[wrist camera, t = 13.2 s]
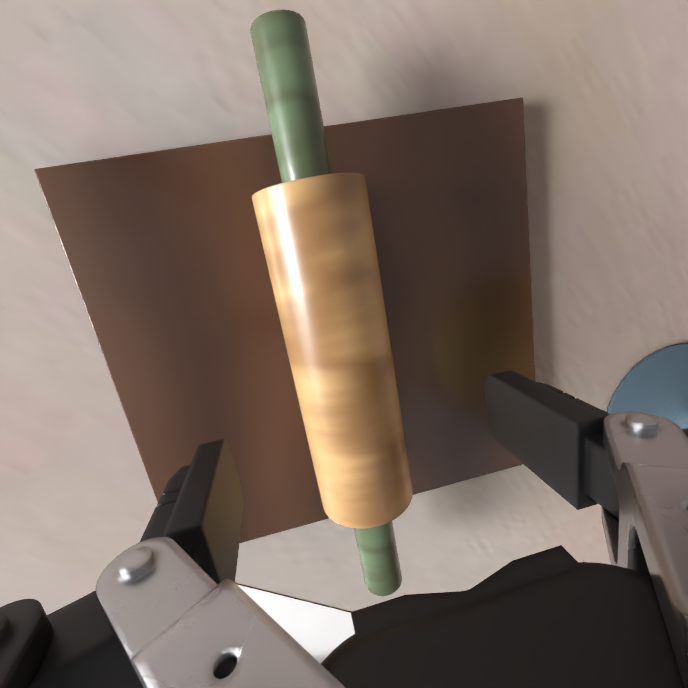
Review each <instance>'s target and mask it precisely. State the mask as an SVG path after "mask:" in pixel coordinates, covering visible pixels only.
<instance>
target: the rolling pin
mask: <svg viewBox="0 0 688 688" xmlns="http://www.w3.org/2000/svg"><path fill="white" fill-rule="evenodd" d="M251 37H252V42H253V46H254V51H255V56H256V61H257V66H258V70H259V75H260V80H261V85H262V90H263V94H264V99H265V104H266V109H267V114H268V118H269V123H270V128H271V133H272V138H273V142H274V147H275V152H276V157H277V162H278V166H279V171H280V176H281V181H282V183H280V184H276V185H273V186H270V187H267V188H264V189H262V190H260V191H258V192H256V193H255V194H253V195H252V201H253V205H254V210H255V214H256V218H257V223H258V227H259V231H260V236H261V240H262V244H263V249H264V253H265V257H266V262H267V266H268V270H269V275H270V279H271V283H272V288H273V292H274V296H275V301H276V305H277V309H278V314H279V318H280V322H281V327H282V331H283V335H284V340H285V344H286V348H287V353H288V357H289V361H290V366H291V370H292V374H293V379H294V383H295V387H296V392H297V396H298V400H299V405H300V409H301V413H302V418H303V422H304V426H305V431H306V435H307V439H308V444H309V448H310V452H311V457H312V461H313V465H314V470H315V474H316V478H317V483H318V487H319V491H320V496H321V500H322V504H323V508H324V511H325V513H326V514H327V515H328V517H329V518H330V519H331V520H333V521H334V522H336V523H337V524H340V525H342V526H345V527H349V528H354V531H355V536H356V541H357V546H358V551H359V555H360V560H361V565H362V570H363V575H364V579H365V584H366V587H367V588H368V590H369V591H370V592H371V593H373V594H375V595H378V596H387V595H390V594H392V593H394V592H395V591H396V590H397V589H398V588H399V587H400V584H401V581H402V576H401V570H400V564H399V558H398V553H397V547H396V541H395V535H394V530H393V524H392V520H394V519H396V518H397V517H398V516H400V515H401V514H402V513H403V512H404V511H405V510H406V509H407V507H408V506H409V504H410V502H411V499H412V495H413V489H412V482H411V476H410V469H409V463H408V456H407V449H406V443H405V436H404V430H403V423H402V417H401V410H400V403H399V397H398V390H397V384H396V377H395V370H394V364H393V357H392V351H391V344H390V337H389V331H388V324H387V318H386V311H385V304H384V298H383V291H382V285H381V278H380V271H379V265H378V258H377V252H376V245H375V238H374V232H373V225H372V219H371V212H370V205H369V199H368V192H367V186H366V179H365V176H364V175H363V174H359V173H335V174H332V173H331V167H330V161H329V155H328V150H327V144H326V138H325V132H324V126H323V121H322V115H321V109H320V103H319V98H318V92H317V86H316V80H315V75H314V69H313V63H312V57H311V52H310V46H309V40H308V34H307V29H306V23H305V20H304V19H303V17H302V16H301V15H300V14H298V13H296V12H294V11H290V10H275V11H270V12H267V13H265V14H263V15H261V16H259V17H258V18H257V19H256V20H255V21H254V22H253V23H252V26H251Z"/></svg>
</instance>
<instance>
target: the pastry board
mask: <svg viewBox="0 0 688 688" xmlns="http://www.w3.org/2000/svg"><path fill="white" fill-rule="evenodd" d="M324 132H325V138H326V144H327V150H328V155H329V161H330V167H331V173H332V174H335V173H359V174H363V175H364V176H365V179H366V186H367V192H368V199H369V205H370V212H371V219H372V225H373V232H374V238H375V245H376V252H377V258H378V265H379V271H380V278H381V285H382V291H383V298H384V304H385V311H386V318H387V324H388V331H389V337H390V344H391V351H392V357H393V364H394V370H395V377H396V384H397V390H398V397H399V403H400V410H401V417H402V423H403V430H404V436H405V443H406V449H407V456H408V463H409V469H410V476H411V482H412V489H413V495H414V494H417V493H421V492H425V491H428V490H432V489H435V488H439V487H443V486H446V485H450V484H453V483H457V482H460V481H464V480H468V479H471V478H475V477H478V476H482V475H486V474H489V473H493V472H496V471H500V470H504V469H507V468H511V467H514V466H518V465H522V464H523V463H522V462H520V461H519V460H518V459H517V458H516V457H515V456H513V455H512V454H511V453H510V452H509V451H507V450H506V449H505V448H504V447H503V446H502V445H500V444H499V443H498V442H497V441H496V440H495V439H494V438H493V436H492V435H491V433H490V431H489V428H488V425H487V417H486V404H485V390H484V380H485V377H486V376H488V375H491V374H495V373H500V372H504V371H508V370H512V371H514V372H516V373H518V374H521V375H523V376H525V377H527V378H529V379H531V380H533V381H535V365H534V342H533V319H532V296H531V273H530V250H529V227H528V204H527V181H526V158H525V135H524V112H523V98H516V99H509V100H503V101H496V102H489V103H482V104H475V105H468V106H462V107H455V108H448V109H441V110H434V111H428V112H421V113H414V114H407V115H400V116H394V117H387V118H380V119H373V120H366V121H360V122H353V123H346V124H339V125H332V126H326V127H324ZM35 173H36V176H37V179H38V181H39V184H40V187H41V189H42V192H43V195H44V197H45V200H46V203H47V205H48V208H49V211H50V214H51V216H52V219H53V222H54V224H55V227H56V230H57V232H58V235H59V238H60V240H61V243H62V246H63V249H64V251H65V254H66V257H67V259H68V262H69V265H70V267H71V270H72V273H73V275H74V278H75V281H76V283H77V286H78V289H79V292H80V294H81V297H82V300H83V302H84V305H85V308H86V310H87V313H88V316H89V318H90V321H91V324H92V327H93V329H94V332H95V335H96V337H97V340H98V343H99V345H100V348H101V351H102V353H103V356H104V359H105V362H106V364H107V367H108V370H109V372H110V375H111V378H112V380H113V383H114V386H115V388H116V391H117V394H118V396H119V399H120V402H121V405H122V407H123V410H124V413H125V415H126V418H127V421H128V423H129V426H130V429H131V431H132V434H133V437H134V440H135V442H136V445H137V448H138V450H139V453H140V456H141V458H142V461H143V464H144V466H145V469H146V472H147V474H148V477H149V480H150V483H151V485H152V488H153V491H154V493H155V496H156V499H157V501H158V502H159V500H160V497H161V496H163V494H162V493H163V491H164V489H165V487H166V485H167V482H168V480H169V479H170V478H171V477H172V476H173V475H174V474H175V473H176V472H177V471H178V470H179V469H180V468H181V467H183V466H187V465H191V462H192V460H193V457H194V455H195V452H196V450H197V447H198V445H200V444H205V443H209V442H213V441H217V440H221V439H227V441H228V443H229V445H230V449H231V452H232V456H233V459H234V462H235V466H236V469H237V473H238V476H239V480H240V483H241V487H242V492H243V502H244V507H243V516H242V524H241V533H240V541H239V543H242V542H245V541H249V540H252V539H256V538H259V537H263V536H267V535H270V534H274V533H277V532H281V531H285V530H288V529H292V528H295V527H299V526H303V525H306V524H310V523H313V522H317V521H320V520H324V519H328V518H329V517H328V515H327V514H326V513H325V511H324V508H323V504H322V500H321V496H320V491H319V487H318V483H317V478H316V474H315V470H314V465H313V461H312V457H311V452H310V448H309V444H308V439H307V435H306V431H305V426H304V422H303V418H302V413H301V409H300V405H299V400H298V396H297V392H296V387H295V383H294V379H293V374H292V370H291V366H290V361H289V357H288V353H287V348H286V344H285V340H284V335H283V331H282V327H281V322H280V318H279V314H278V309H277V305H276V301H275V296H274V292H273V288H272V283H271V279H270V275H269V270H268V266H267V262H266V257H265V253H264V249H263V244H262V240H261V236H260V231H259V227H258V223H257V218H256V214H255V210H254V205H253V201H252V195H253V194H255V193H256V192H258V191H260V190H262V189H264V188H267V187H270V186H273V185H276V184H280V183H282V181H281V176H280V171H279V166H278V162H277V157H276V152H275V147H274V142H273V138H272V134H271V135H264V136H257V137H251V138H244V139H237V140H230V141H223V142H217V143H210V144H203V145H196V146H189V147H183V148H176V149H169V150H162V151H155V152H149V153H142V154H135V155H128V156H121V157H115V158H108V159H101V160H94V161H87V162H80V163H74V164H67V165H60V166H53V167H46V168H40V169H35Z"/></svg>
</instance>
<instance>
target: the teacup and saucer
mask: <svg viewBox="0 0 688 688" xmlns="http://www.w3.org/2000/svg"><path fill="white" fill-rule="evenodd" d="M238 586H239V587H240V588H241V589H242V590H243V591H244V592H245V593H246V594H247V595H248V596H249V597H250V598H251V599H253V600H254V601H255V602H256V603H257V604H258V605H259V606H260V607H261V608H262V609H263V610H264V611H265V612H266V613H267V614H268V615H269V616H270V617H272V618H273V619H274V620H275V621H276V622H277V623H278V624H279V625H280V626H281V627H282V628H283V629H284V630H285V631H286V632H287V633H288V634H290V635H291V636H292V637H293V638H294V639H295V640H296V641H297V642H298V643H299V644H300V645H301V646H302V647H303V648H304V649H305V650H306V651H307V652H309V653H310V654H311V655H312V656H313V657H314V658H315V659H316V660H317V661H318V662H319V663H320V664H321V662H322V661H323V660H324V659H325V658H326V657H327V656H328V655H329V654H330V653H331V652H332V651H333V650H334V649H335V648H336V647H338V646H339V645H340V644H341V643H342V642H343V641H345V640H346V639H348V638H349V637H351V636H352V635H354V634H355V631H354V626H353V621H352V617H351V613H349V612H345V611H341V610H337V609H333V608H329V607H325V606H321V605H317V604H313V603H309V602H305V601H301V600H297V599H293V598H289V597H285V596H281V595H277V594H273V593H269V592H265V591H261V590H257V589H253V588H249V587H245V586H241V585H238Z"/></svg>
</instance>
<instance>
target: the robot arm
mask: <svg viewBox="0 0 688 688" xmlns="http://www.w3.org/2000/svg"><path fill="white" fill-rule="evenodd" d="M484 390H485V404H486V417H487V425H488V428H489V431H490V433H491V435H492V436H493V438H494V439H495V440H496V441H497V442H498V443H499V444H500V445H502V446H503V447H504V448H505V449H506V450H507V451H509V452H510V453H511V454H512V455H513V456H515V457H516V458H517V459H518V460H519V461H520V462H522V463H523V464H524V465H525V466H526V467H528V468H529V469H530V470H531V471H532V472H534V473H535V474H536V475H537V476H538V477H539V478H541V479H542V480H543V481H544V482H545V483H547V484H548V485H549V486H550V487H551V488H552V489H554V490H555V491H556V492H557V493H558V494H560V495H561V496H562V497H563V498H564V499H565V500H567V501H568V502H569V503H570V504H571V505H573V506H574V507H575V508H576V509H577V510H579V509H582V508H586V507H589V506H592V505H595V504H600V505H601V506H602V523H603V528H604V533H605V538H606V543H607V547H608V552H609V557H610V562H611V565H609V564H602V563H587V562H580V563H578V562H577V561H576V560H575V559H574V558H573V557H572V556H571V555H570V554H569V553H568V552H567V551H566V550H565V549H564V548H563V547H562V546H558V547H554V548H551V549H548V550H545V551H542V552H539V553H536V554H532V555H529V556H526V557H523V558H520V559H517V560H514V561H512V562H510V563H509V564H507V565H506V566H504V567H503V568H501V569H500V570H498V571H497V572H495V573H494V574H492V575H491V576H489V577H488V578H486V579H485V580H484V581H482V582H481V583H479V584H478V585H476V586H475V587H473V588H471V589H470V590H467V591H461V592H445V593H429V594H412V595H404V596H401V597H397V598H394V599H391V600H388V601H385V602H382V603H379V604H375V605H372V606H369V607H366V608H363V609H360V610H357V611H354V612H351V617H352V621H353V626H354V631H355V634H354V635H352V636H351V637H349V638H348V639H346V640H345V641H343V642H342V643H341V644H340V645H339V646H338V647H336V648H335V649H334V650H333V651H332V652H331V653H330V654H329V655H328V656H327V657H326V658H325V659H324V660H323V661H322V662H321V664H320V663H319V662H318V661H317V660H316V659H315V658H314V657H313V656H312V655H311V654H310V653H309V652H307V651H306V650H305V649H304V648H303V647H302V646H301V645H300V644H299V643H298V642H297V641H296V640H295V639H294V638H293V637H292V636H291V635H290V634H288V633H287V632H286V631H285V630H284V629H283V628H282V627H281V626H280V625H279V624H278V623H277V622H276V621H275V620H274V619H273V618H272V617H270V616H269V615H268V614H267V613H266V612H265V611H264V610H263V609H262V608H261V607H260V606H259V605H258V604H257V603H256V602H255V601H254V600H253V599H251V598H250V597H249V596H248V595H247V594H246V593H245V592H244V591H243V590H242V589H241V588H240V587H239V586H238V585H237V584H236V583H235V575H236V566H237V558H238V550H239V541H240V533H241V524H242V516H243V507H244V502H243V492H242V487H241V483H240V480H239V476H238V473H237V469H236V466H235V462H234V459H233V456H232V452H231V449H230V445H229V443H228V441H227V439H221V440H217V441H213V442H209V443H205V444H200V445H198V447H197V450H196V452H195V455H194V457H193V460H192V462H191V465H187V466H183V467H181V468H180V469H179V470H178V471H177V472H176V473H175V474H174V475H173V476H172V477H171V478H170V479H169V480H168V482H167V485H166V487H165V489H164V491H163V493H162V494H163V496H161V497H160V500H159V502H158V504H157V507H156V508H155V510H154V513H153V515H152V517H151V519H150V521H149V523H148V525H147V528H146V530H145V532H144V534H143V536H142V538H141V541H140V543H138V544H136V545H134V546H132V547H130V548H128V549H127V550H125V551H124V552H122V553H121V554H120V555H118V556H117V557H116V558H115V559H114V560H113V561H112V562H111V563H110V564H109V565H108V566H107V567H106V568H105V569H104V571H103V572H102V573H101V575H100V577H99V579H98V581H97V584H96V591H94V592H92V593H90V594H88V595H86V596H84V597H83V598H81V599H79V600H77V601H75V602H73V603H71V604H69V605H67V606H65V607H63V608H61V609H59V610H57V611H55V612H53V613H51V614H49V615H46V613H45V611H44V609H43V607H42V605H41V603H40V602H39V601H37V600H34V599H24V600H19V601H15V602H12V603H10V604H7V605H5V606H3V607H0V688H688V428H687V429H681V428H680V426H679V425H677V424H676V423H675V422H673V421H671V420H669V419H667V418H664V417H662V416H658V415H655V414H650V413H645V412H635V411H625V412H617V413H613V414H609V413H607V412H605V411H603V410H600V409H598V408H596V407H594V406H592V405H590V404H588V403H586V402H584V401H582V400H580V399H575V398H574V397H573V396H571V395H569V394H567V393H563V391H561V390H559V389H557V388H555V387H552V386H550V385H548V384H543V383H539V382H535V381H533V380H531V379H529V378H527V377H525V376H523V375H521V374H518V373H516V372H514V371H512V370H508V371H504V372H500V373H495V374H491V375H488V376H486V377H485V380H484Z"/></svg>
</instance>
